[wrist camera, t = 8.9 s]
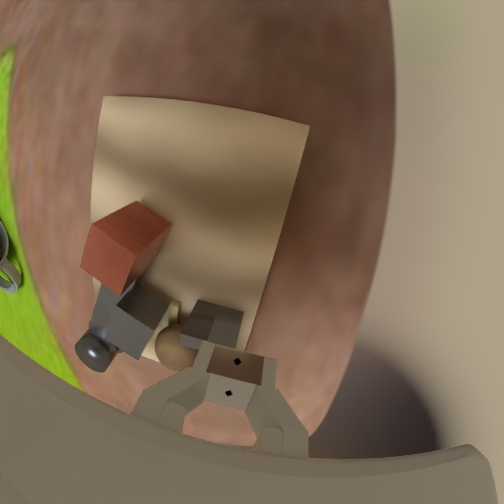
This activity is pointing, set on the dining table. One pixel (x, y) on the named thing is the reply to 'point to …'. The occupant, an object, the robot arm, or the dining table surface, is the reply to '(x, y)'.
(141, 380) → the dining table surface
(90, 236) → the lever
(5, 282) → the ceramic mug
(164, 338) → the brown ball
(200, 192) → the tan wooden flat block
